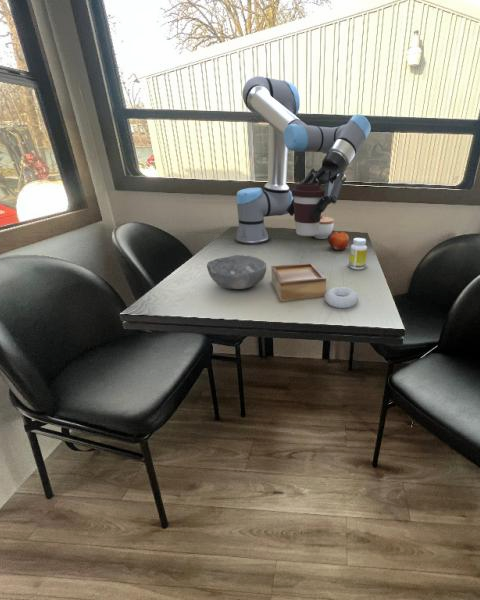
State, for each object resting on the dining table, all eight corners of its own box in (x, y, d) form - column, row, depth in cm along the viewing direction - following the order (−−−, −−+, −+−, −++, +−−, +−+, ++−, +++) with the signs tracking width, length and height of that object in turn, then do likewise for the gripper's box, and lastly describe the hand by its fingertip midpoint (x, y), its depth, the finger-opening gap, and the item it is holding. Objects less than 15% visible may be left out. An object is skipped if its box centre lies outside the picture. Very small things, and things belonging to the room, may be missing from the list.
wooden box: (271, 283, 99) (271, 266, 96) (311, 279, 103) (312, 262, 100) (281, 301, 87) (280, 283, 84) (325, 296, 92) (326, 278, 89)
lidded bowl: (307, 233, 158) (308, 212, 153) (331, 233, 160) (332, 212, 155) (309, 240, 147) (310, 217, 142) (334, 240, 149) (336, 218, 144)
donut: (353, 295, 93) (322, 294, 92) (355, 285, 92) (323, 284, 91) (360, 310, 84) (325, 310, 83) (361, 300, 83) (326, 299, 82)
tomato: (347, 252, 132) (348, 234, 128) (326, 250, 133) (327, 233, 129) (349, 246, 140) (350, 229, 136) (329, 244, 141) (330, 228, 137)
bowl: (276, 291, 93) (275, 267, 90) (219, 303, 85) (216, 277, 81) (255, 272, 107) (253, 250, 103) (204, 281, 98) (201, 258, 94)
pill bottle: (366, 266, 117) (370, 238, 112) (362, 271, 112) (365, 242, 107) (352, 263, 119) (354, 236, 114) (346, 268, 114) (349, 240, 109)
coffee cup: (319, 239, 90) (321, 186, 83) (288, 236, 92) (287, 184, 85) (325, 231, 99) (327, 183, 92) (296, 228, 100) (296, 181, 94)
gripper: (370, 171, 89) (332, 230, 87) (318, 166, 103) (284, 217, 100) (361, 151, 84) (320, 214, 81) (307, 148, 98) (270, 202, 95)
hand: (300, 215), depth 91 cm, fingers closed on coffee cup, 10 cm apart
